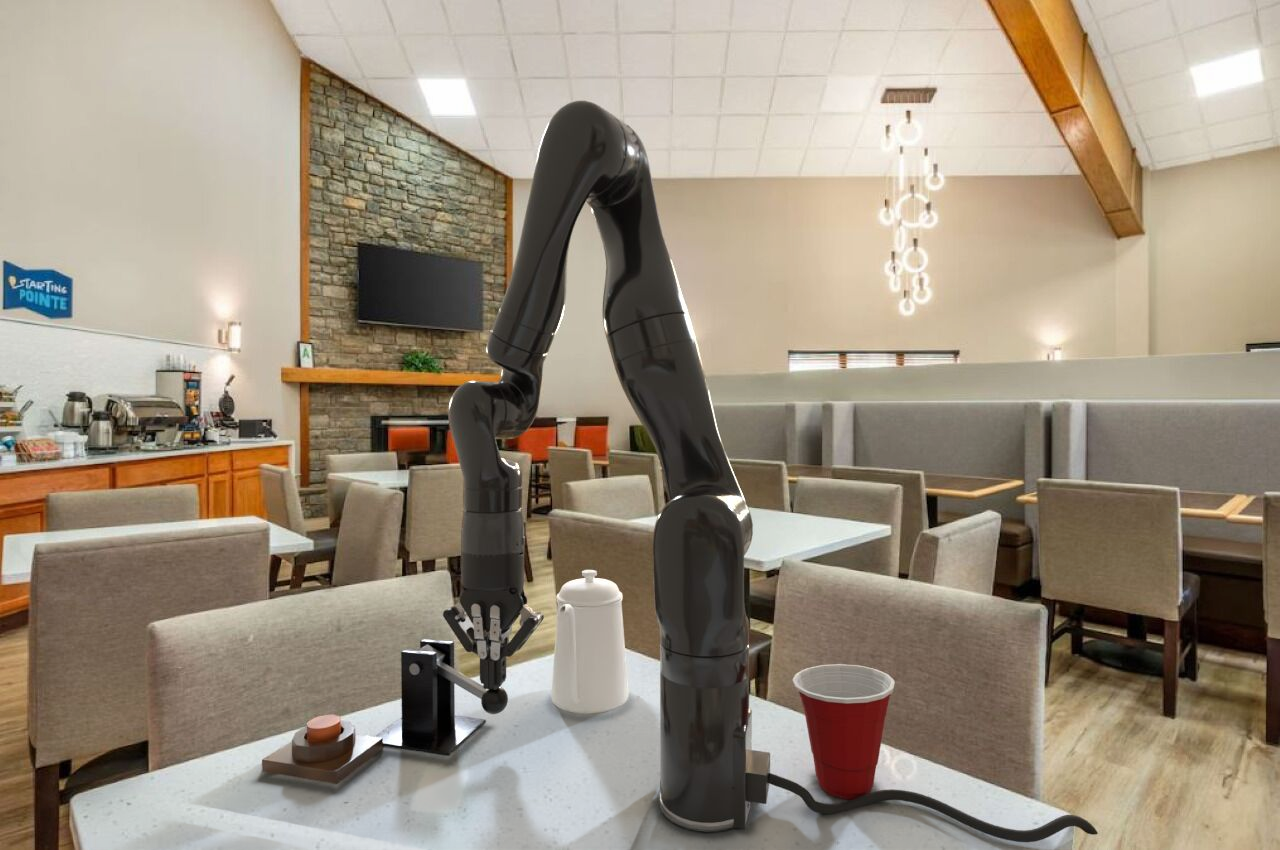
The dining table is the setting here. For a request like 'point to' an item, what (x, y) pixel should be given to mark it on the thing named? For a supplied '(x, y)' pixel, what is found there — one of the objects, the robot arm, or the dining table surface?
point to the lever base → (428, 705)
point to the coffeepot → (589, 647)
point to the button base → (323, 755)
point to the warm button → (323, 728)
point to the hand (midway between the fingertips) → (493, 686)
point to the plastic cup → (844, 724)
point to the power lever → (471, 685)
